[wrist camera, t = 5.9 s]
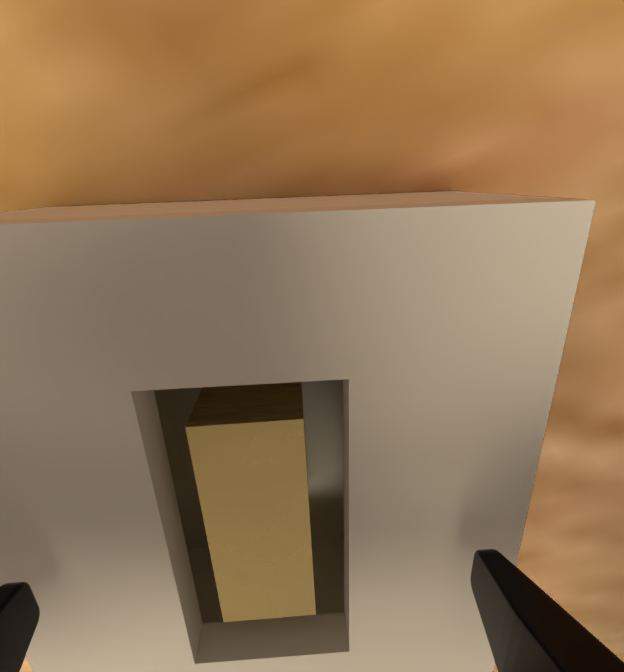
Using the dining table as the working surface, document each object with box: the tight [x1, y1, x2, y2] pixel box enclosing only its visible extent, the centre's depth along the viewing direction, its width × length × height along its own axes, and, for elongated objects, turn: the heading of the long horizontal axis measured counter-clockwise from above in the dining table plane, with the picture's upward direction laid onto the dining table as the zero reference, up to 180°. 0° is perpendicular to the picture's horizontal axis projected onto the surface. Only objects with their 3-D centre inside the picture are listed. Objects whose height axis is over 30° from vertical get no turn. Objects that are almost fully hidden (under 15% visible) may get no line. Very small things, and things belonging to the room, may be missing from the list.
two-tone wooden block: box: [185, 382, 316, 622], centre depth 11 cm, size 2×6×5 cm, turn 3°
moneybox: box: [0, 191, 596, 672], centre depth 12 cm, size 12×14×6 cm
